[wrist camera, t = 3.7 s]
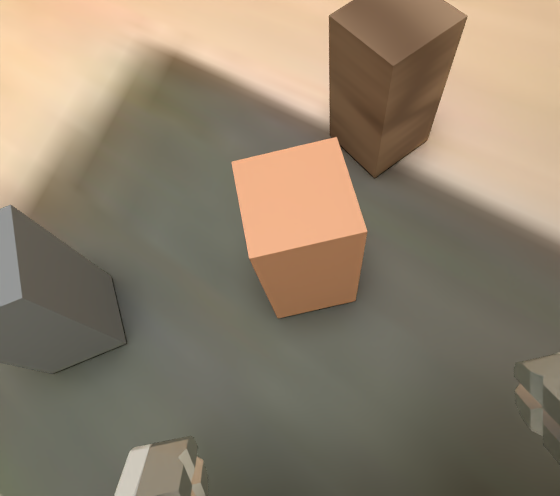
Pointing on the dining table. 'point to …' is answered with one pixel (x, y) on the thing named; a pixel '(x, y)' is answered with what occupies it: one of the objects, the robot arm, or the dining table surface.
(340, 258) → the terracotta bar
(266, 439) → the dining table surface
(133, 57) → the dining table surface
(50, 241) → the charcoal bar
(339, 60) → the walnut bar
